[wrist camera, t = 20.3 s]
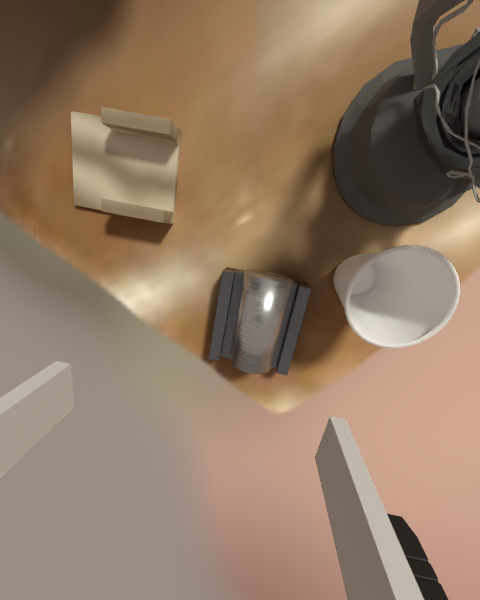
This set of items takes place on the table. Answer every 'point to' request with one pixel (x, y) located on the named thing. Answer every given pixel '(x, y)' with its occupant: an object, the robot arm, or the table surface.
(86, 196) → the bracket
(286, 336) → the v block
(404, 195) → the lantern
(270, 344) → the grey metal cylinder
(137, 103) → the table surface
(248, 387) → the table surface
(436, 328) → the cup
